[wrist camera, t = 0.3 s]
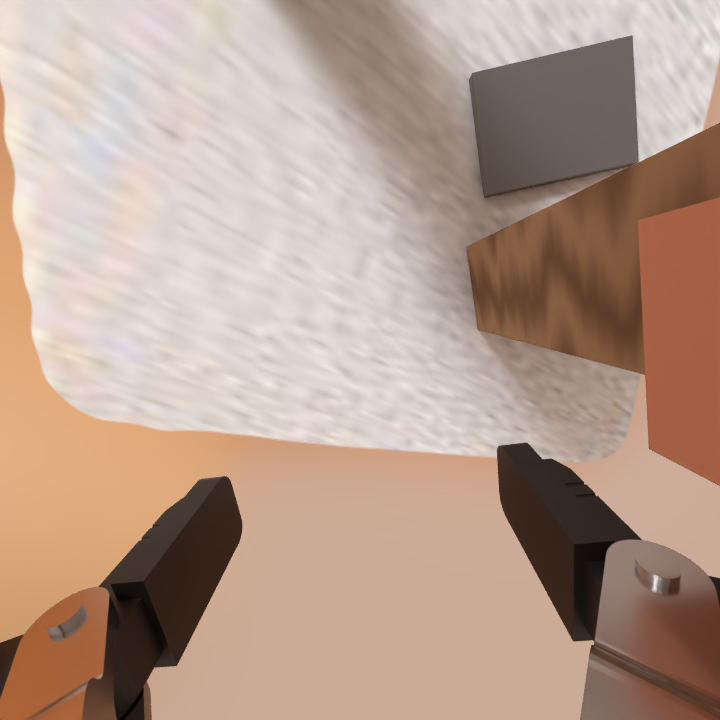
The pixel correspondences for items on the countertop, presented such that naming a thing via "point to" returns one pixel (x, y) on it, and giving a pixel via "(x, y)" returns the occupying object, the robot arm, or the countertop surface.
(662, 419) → the rail
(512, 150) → the mat
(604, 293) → the post
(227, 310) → the countertop surface
